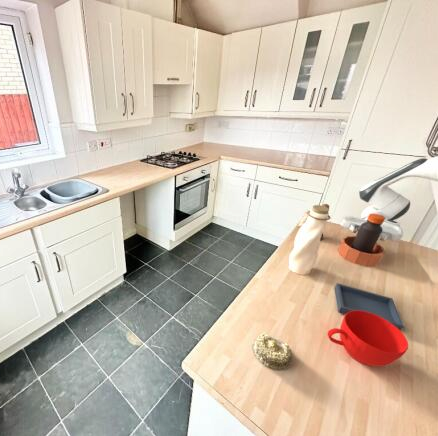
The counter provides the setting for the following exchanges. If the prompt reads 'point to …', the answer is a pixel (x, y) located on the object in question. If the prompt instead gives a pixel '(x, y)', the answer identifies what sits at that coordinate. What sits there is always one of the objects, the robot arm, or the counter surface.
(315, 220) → the water bottle
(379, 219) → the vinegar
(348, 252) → the bowl
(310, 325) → the counter surface
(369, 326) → the ceramic cup
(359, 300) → the tray
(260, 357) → the seeded bagel
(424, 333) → the counter surface
